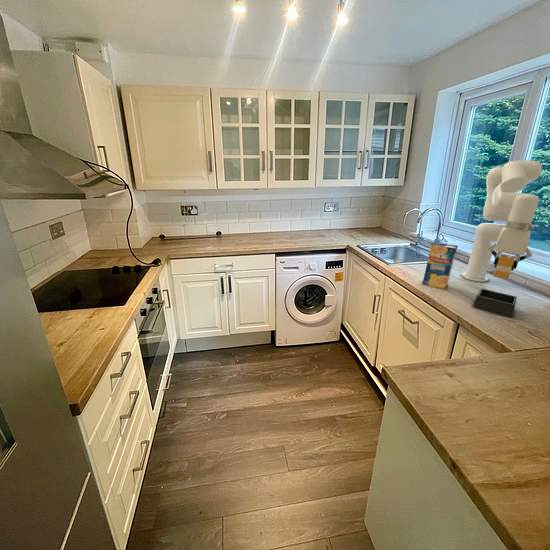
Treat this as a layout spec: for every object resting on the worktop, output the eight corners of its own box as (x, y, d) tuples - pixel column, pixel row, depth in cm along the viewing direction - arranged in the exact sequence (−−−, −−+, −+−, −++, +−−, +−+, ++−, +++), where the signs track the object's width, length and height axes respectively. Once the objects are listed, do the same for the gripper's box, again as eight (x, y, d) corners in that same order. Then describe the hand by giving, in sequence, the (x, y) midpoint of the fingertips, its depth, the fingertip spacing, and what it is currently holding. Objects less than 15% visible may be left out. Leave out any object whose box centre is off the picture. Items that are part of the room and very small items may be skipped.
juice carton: (494, 273, 128) (501, 253, 125) (509, 276, 125) (515, 256, 122) (493, 276, 124) (499, 256, 121) (507, 279, 121) (514, 259, 118)
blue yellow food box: (445, 289, 148) (455, 248, 140) (422, 283, 155) (431, 244, 147) (447, 285, 153) (457, 245, 145) (425, 280, 160) (434, 241, 152)
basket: (473, 307, 130) (476, 295, 128) (477, 299, 138) (480, 288, 136) (510, 317, 121) (515, 305, 119) (513, 308, 130) (517, 296, 127)
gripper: (545, 228, 114) (529, 271, 121) (493, 222, 125) (481, 261, 131) (545, 231, 109) (529, 275, 115) (491, 224, 120) (478, 265, 126)
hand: (503, 267), depth 123 cm, fingers closed on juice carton, 5 cm apart
